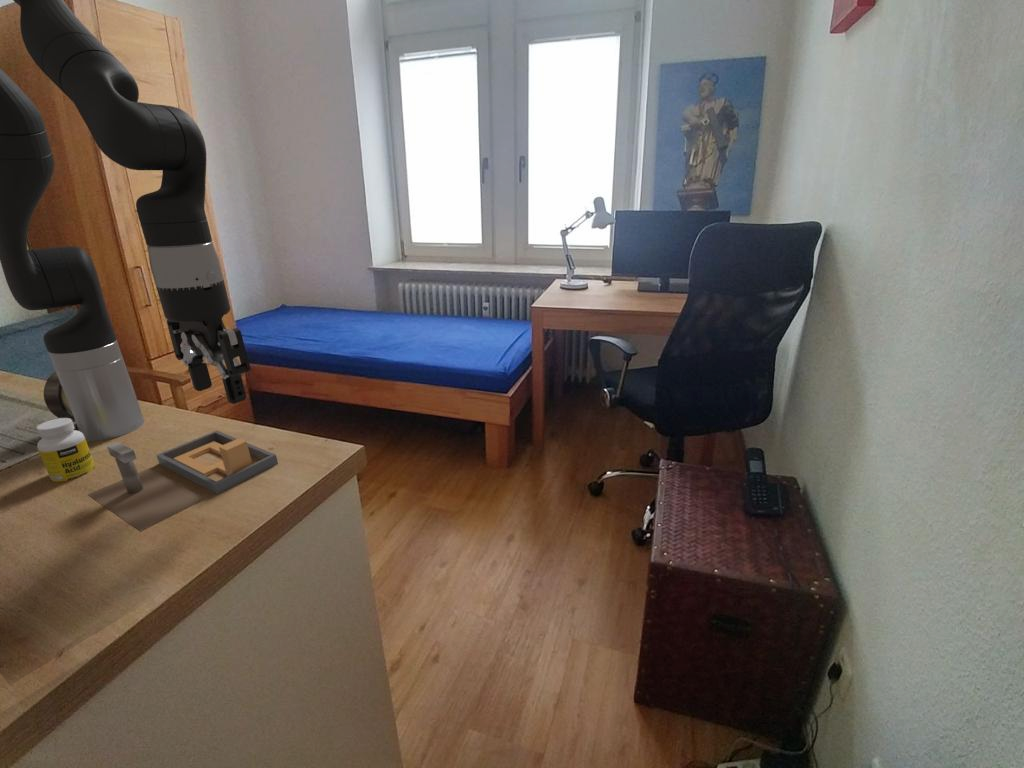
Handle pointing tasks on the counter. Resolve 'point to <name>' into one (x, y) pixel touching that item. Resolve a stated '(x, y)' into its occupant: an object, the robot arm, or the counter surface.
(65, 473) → the supplement bottle
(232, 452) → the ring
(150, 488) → the board
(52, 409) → the alarm clock
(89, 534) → the counter surface
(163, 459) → the tray
